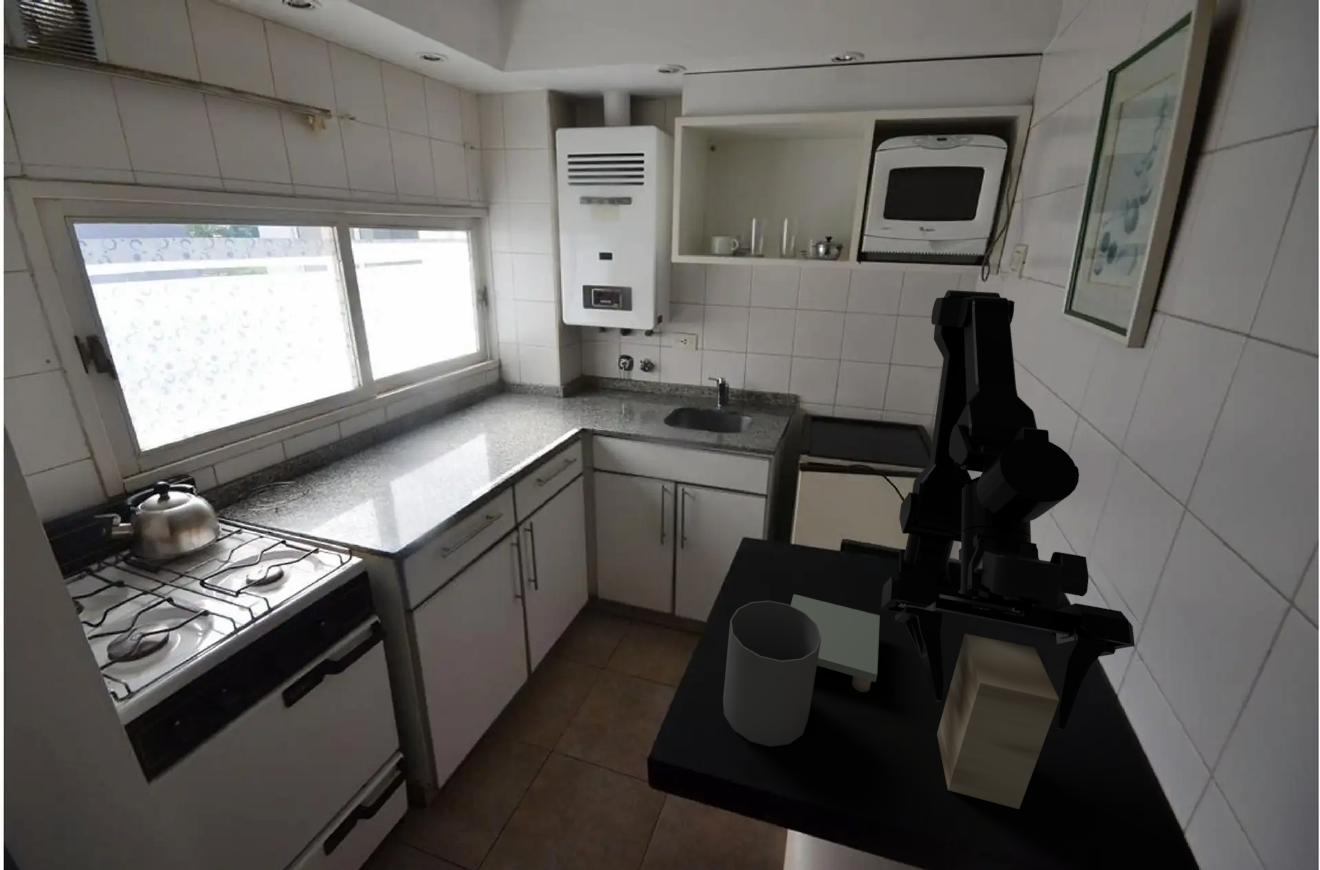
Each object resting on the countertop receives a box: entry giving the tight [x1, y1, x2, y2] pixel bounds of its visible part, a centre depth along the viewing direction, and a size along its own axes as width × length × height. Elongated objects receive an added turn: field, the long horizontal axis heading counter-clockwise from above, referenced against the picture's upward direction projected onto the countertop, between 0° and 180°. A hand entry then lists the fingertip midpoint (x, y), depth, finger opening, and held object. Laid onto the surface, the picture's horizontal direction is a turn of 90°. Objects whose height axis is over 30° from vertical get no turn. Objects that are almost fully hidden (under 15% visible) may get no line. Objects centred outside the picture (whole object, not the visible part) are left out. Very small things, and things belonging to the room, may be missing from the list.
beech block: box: [936, 633, 1059, 810], centre depth 48 cm, size 6×6×12 cm
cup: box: [722, 600, 821, 747], centre depth 54 cm, size 8×8×10 cm
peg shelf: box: [790, 593, 880, 693], centre depth 63 cm, size 10×10×3 cm
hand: (997, 714), depth 47 cm, fingers open, 9 cm apart
